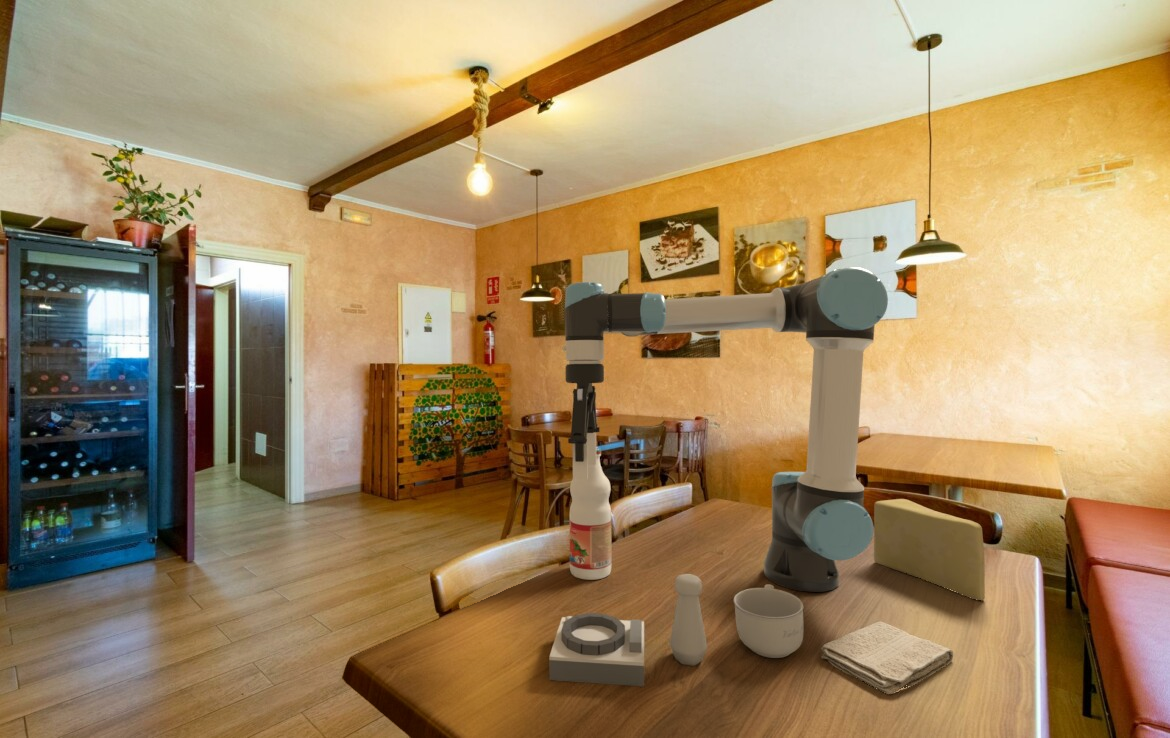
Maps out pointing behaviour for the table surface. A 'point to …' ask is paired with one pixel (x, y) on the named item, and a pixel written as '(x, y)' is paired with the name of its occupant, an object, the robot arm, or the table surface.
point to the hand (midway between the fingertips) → (585, 471)
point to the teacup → (769, 621)
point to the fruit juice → (590, 524)
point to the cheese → (930, 546)
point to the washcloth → (886, 656)
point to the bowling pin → (688, 622)
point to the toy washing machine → (598, 650)
